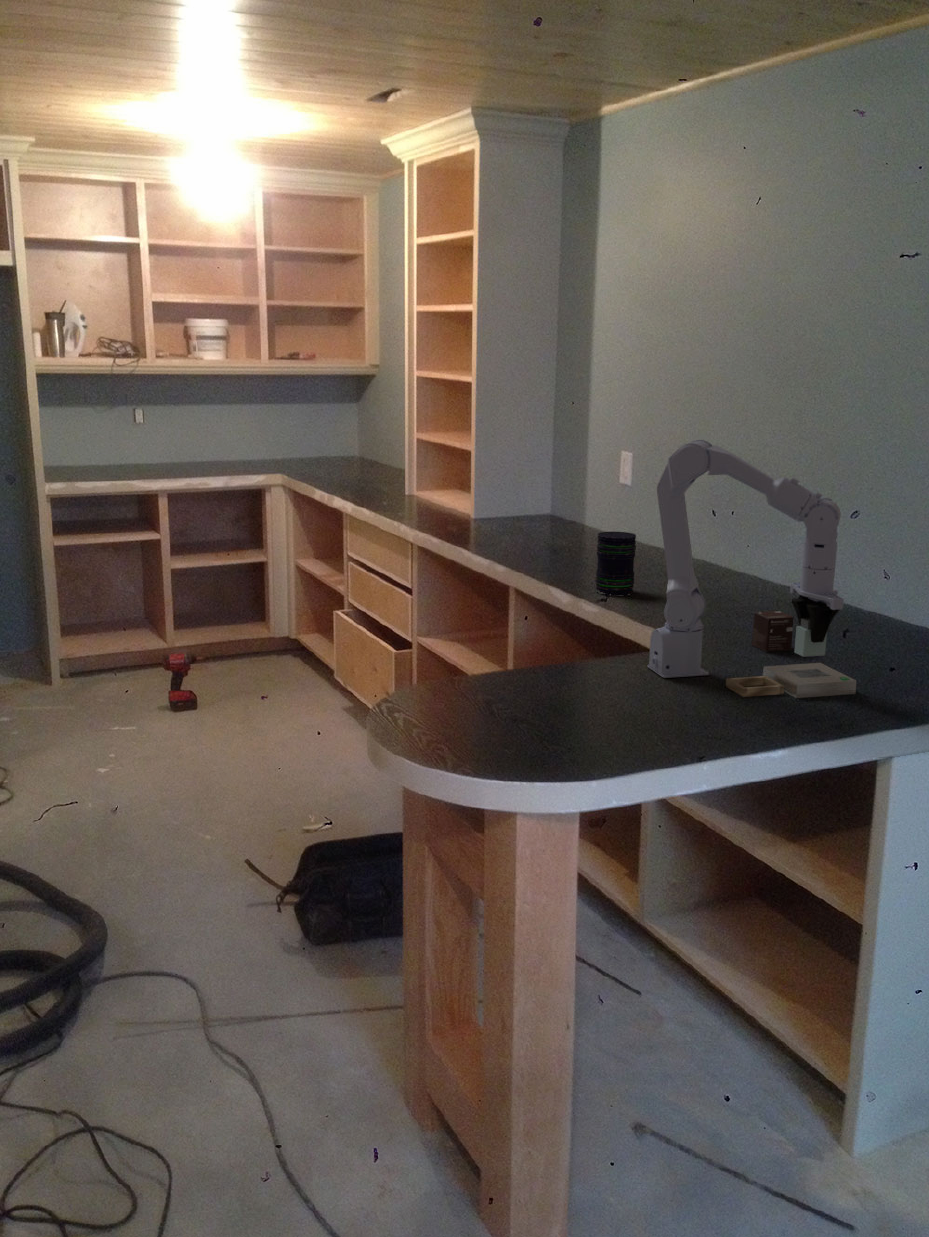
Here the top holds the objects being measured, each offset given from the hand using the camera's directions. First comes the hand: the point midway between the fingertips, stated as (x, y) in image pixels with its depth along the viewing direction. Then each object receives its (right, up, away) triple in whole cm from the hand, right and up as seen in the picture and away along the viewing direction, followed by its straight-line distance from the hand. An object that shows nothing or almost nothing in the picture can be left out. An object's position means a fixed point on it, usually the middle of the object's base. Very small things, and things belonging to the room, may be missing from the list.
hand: (812, 639), depth 203 cm
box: (0, -3, +28) cm, 28 cm away
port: (0, -9, +2) cm, 9 cm away
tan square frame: (-11, -9, 0) cm, 14 cm away
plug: (0, -3, +1) cm, 3 cm away
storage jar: (-25, +10, +80) cm, 85 cm away
